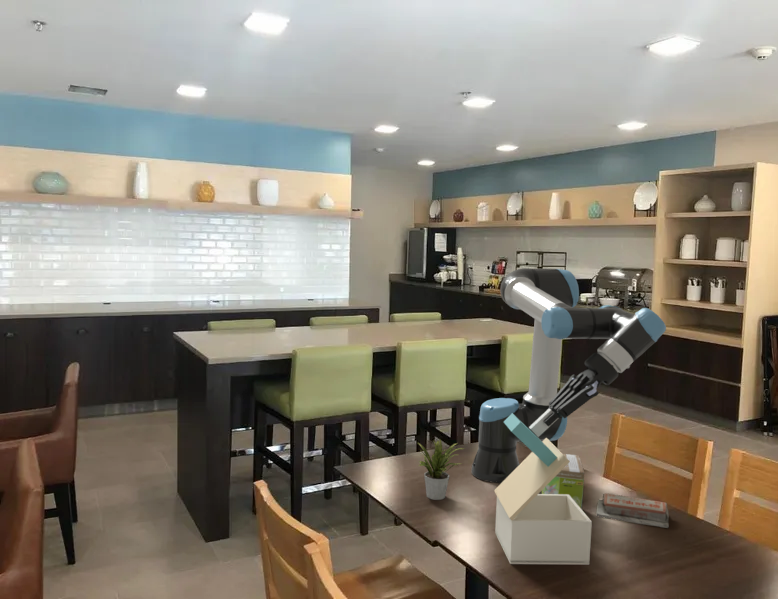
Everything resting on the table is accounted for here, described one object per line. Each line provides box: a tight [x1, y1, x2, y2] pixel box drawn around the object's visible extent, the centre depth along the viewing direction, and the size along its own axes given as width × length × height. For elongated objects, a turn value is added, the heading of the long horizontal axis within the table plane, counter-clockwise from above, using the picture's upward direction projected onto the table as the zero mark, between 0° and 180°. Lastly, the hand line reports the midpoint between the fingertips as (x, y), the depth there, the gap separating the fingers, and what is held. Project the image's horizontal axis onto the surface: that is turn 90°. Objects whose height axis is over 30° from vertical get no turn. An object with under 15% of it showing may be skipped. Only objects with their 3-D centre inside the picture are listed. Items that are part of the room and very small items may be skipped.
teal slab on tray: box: [493, 413, 570, 520], centre depth 153 cm, size 18×16×13 cm
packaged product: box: [595, 492, 669, 529], centre depth 176 cm, size 18×5×10 cm
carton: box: [494, 493, 593, 566], centre depth 155 cm, size 18×16×10 cm
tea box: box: [540, 453, 585, 510], centre depth 175 cm, size 15×10×15 cm
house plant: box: [417, 438, 465, 501], centre depth 184 cm, size 14×14×16 cm
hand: (533, 432), depth 153 cm, fingers closed
